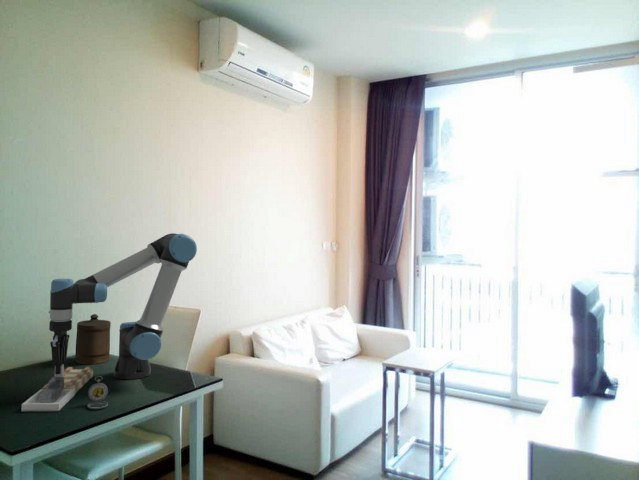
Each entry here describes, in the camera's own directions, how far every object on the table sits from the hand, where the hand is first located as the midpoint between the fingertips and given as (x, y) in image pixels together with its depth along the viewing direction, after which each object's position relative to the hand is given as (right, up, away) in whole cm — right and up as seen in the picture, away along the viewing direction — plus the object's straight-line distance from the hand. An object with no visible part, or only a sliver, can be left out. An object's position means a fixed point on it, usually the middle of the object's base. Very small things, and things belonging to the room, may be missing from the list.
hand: (58, 381), depth 185 cm
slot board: (-2, -5, +11) cm, 12 cm away
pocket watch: (+19, -6, -9) cm, 22 cm away
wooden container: (-10, -4, +48) cm, 49 cm away
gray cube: (0, -2, -2) cm, 3 cm away
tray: (+1, -5, -9) cm, 10 cm away
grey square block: (+1, -4, -6) cm, 8 cm away
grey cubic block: (+1, -2, -8) cm, 9 cm away
